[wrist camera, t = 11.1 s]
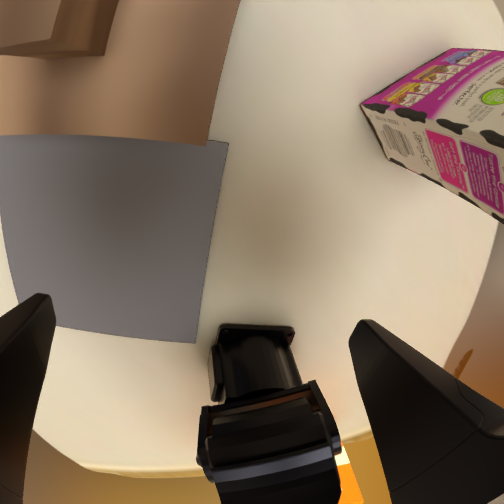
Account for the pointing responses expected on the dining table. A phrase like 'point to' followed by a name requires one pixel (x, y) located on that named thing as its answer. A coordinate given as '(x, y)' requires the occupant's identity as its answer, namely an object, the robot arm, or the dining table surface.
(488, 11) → the dining table surface
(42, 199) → the mat
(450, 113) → the candy bar box
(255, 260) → the dining table surface
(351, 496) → the orange juice
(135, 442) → the dining table surface
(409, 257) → the dining table surface
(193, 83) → the walnut lid
